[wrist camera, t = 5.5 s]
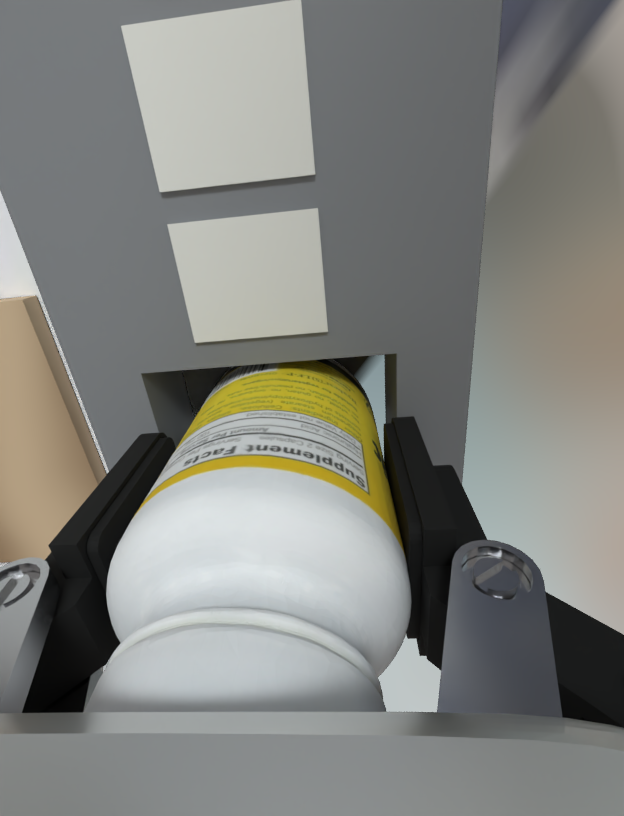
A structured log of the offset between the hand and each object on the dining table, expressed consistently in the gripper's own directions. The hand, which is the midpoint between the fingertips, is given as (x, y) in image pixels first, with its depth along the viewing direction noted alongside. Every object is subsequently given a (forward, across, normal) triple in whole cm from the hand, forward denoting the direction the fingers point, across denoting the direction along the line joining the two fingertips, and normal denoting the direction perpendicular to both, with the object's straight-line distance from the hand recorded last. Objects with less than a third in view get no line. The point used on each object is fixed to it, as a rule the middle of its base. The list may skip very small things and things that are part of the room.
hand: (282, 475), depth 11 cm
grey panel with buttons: (+3, 0, -4) cm, 5 cm away
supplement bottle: (+3, 0, 0) cm, 3 cm away
